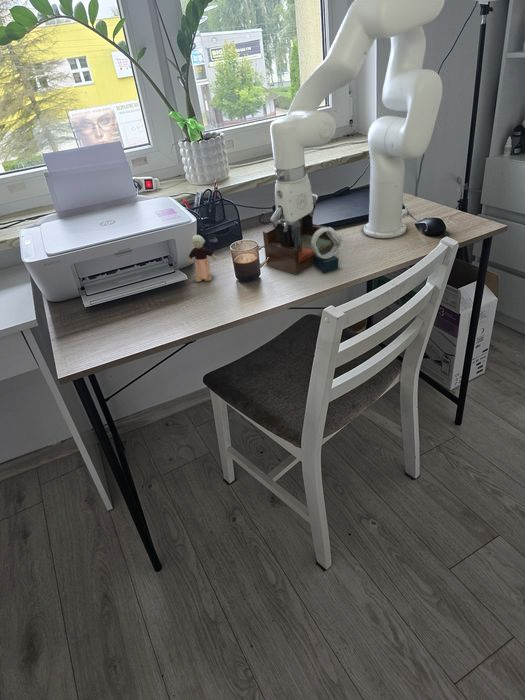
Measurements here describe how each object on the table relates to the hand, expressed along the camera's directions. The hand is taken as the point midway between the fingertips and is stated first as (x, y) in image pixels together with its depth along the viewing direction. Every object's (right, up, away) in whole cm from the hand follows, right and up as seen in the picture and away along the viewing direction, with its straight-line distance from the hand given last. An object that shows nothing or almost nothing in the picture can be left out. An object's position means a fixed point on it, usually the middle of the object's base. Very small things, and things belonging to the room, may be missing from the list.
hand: (297, 237), depth 125 cm
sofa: (+2, -5, +6) cm, 8 cm away
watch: (+8, -8, 0) cm, 12 cm away
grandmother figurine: (-25, -11, +2) cm, 28 cm away
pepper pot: (-1, -3, +1) cm, 4 cm away
